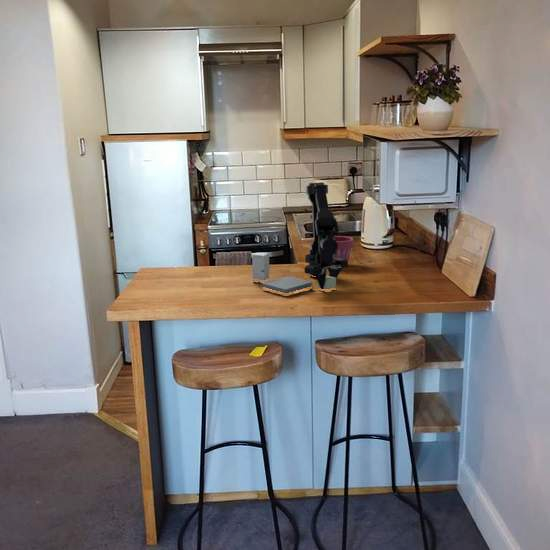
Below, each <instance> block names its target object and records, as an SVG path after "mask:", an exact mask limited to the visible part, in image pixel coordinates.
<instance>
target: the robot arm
mask: <svg viewBox="0 0 550 550" xmlns="http://www.w3.org/2000/svg"><path fill="white" fill-rule="evenodd" d="M305 190H306V195H307V197H308V200H309V203H310V204H311V205H312V207H311V209H312V226H313V227H312V228H313V229H312V230H313V231H312V232H313V233H312V234H313V239H312V242H311V244H310V245H309V247H310V249H308V254H305V255H304V260H305V263H306V264H307V265H305V266H304V273H305V274H307V275H313V276H316V278H315V279H316V280H317V284H318V283H319V285H320V288H321V289H324V284H325V278H326V273H327V274H328V275H329V276H331V277H335V278H336V280H337V278H338V276H339V275H340V273H341V271H342V270H343V268H340V266H339V265H341V266H342V267H345V268H347V267H348V266H349V265H348V264H349V261H348V262H347V260H346V259H342V258H335V259H334V254H336V250H337V248H338V244H337V242H336V240H335V239H334V236H339V234H338V233H339V225H338V221H337V218H335V215H334V212H333V211H332V210H330V209H329V202H328V196H327V194H329V185H328V184H325V182H309V183H308V185H306V188H305Z"/></svg>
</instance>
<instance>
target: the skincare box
mask: <svg viewBox="0 0 550 550" xmlns="http://www.w3.org/2000/svg"><path fill="white" fill-rule="evenodd" d="M251 260H252V261H251V262H252V263H251V264H252V267H251V269H252V280H253V279H259V280H266V279H268V278H269V279H270V253H263V252H255V253H253V254H251Z"/></svg>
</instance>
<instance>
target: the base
mask: <svg viewBox="0 0 550 550" xmlns="http://www.w3.org/2000/svg"><path fill="white" fill-rule="evenodd" d="M311 286H312V287H313V282H312V281H310V280H304V279H300V278H297V277H292V276H284V277H280V278H277V279H273V280H269V281H268V282H265V283H262V284H261V288H262V287H266V288H269V289H272V290H276V291H280V292H283V293H289V292H293V291H296V290H300V289H303V288H307V287H311Z"/></svg>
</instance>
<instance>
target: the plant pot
mask: <svg viewBox="0 0 550 550" xmlns="http://www.w3.org/2000/svg"><path fill="white" fill-rule="evenodd" d="M334 239H335V240H336V242H337V244H338V248H337V250H336V254H334V259H335V258H342V259H346V260H347V262H348V263H349V261H350V255H351V251H352V248H353V247H354V238H353V237H349V236H344V235H334ZM339 266H340V267H342V266H341V265H339Z"/></svg>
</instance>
